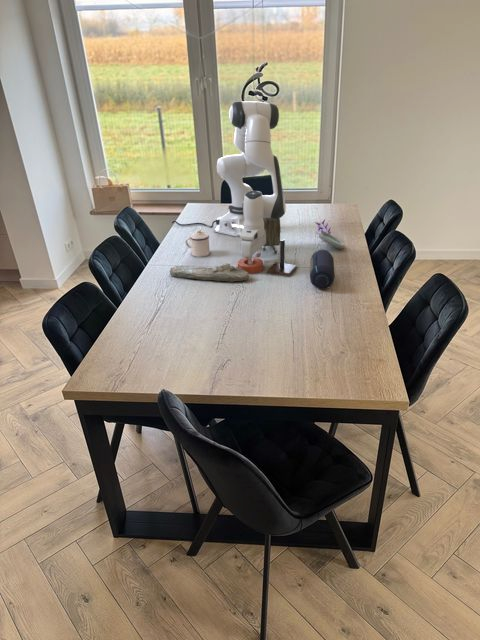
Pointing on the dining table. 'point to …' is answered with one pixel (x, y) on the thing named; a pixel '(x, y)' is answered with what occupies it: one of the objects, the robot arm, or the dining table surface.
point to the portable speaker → (322, 269)
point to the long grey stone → (211, 273)
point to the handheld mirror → (328, 236)
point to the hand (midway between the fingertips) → (254, 260)
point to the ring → (253, 268)
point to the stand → (282, 263)
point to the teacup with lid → (199, 244)
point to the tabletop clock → (272, 232)
